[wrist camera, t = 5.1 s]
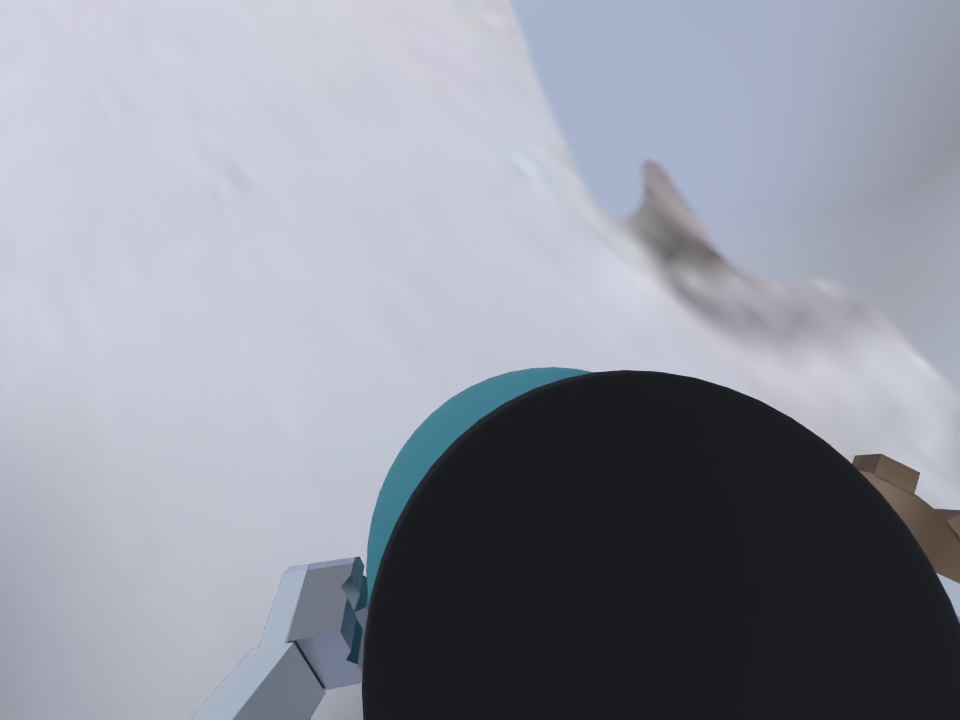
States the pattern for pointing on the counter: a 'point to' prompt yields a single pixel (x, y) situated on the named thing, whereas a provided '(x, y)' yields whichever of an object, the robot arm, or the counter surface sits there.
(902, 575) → the beverage bottle
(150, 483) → the counter surface
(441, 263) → the counter surface
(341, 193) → the counter surface
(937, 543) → the gear plate
